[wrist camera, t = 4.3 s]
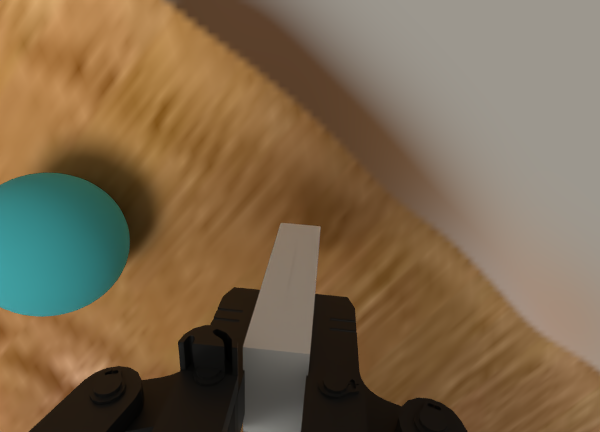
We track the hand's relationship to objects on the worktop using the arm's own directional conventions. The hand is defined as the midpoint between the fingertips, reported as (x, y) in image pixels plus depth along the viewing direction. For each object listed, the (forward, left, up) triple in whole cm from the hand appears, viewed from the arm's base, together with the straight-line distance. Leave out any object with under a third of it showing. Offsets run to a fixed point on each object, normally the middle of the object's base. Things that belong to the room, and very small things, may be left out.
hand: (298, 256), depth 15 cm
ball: (+10, 0, 0) cm, 10 cm away
